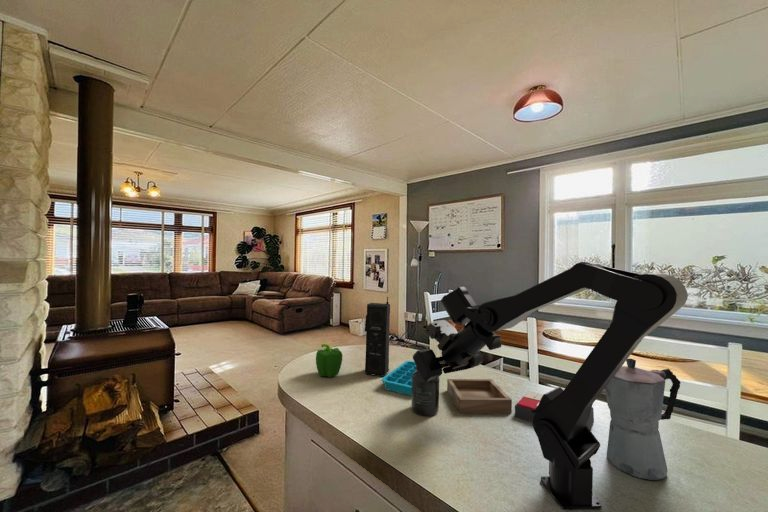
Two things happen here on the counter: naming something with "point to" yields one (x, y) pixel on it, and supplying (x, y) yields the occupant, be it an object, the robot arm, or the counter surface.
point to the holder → (478, 396)
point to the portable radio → (377, 338)
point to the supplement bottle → (425, 396)
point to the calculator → (531, 402)
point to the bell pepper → (328, 361)
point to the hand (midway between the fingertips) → (430, 375)
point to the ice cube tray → (401, 378)
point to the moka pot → (638, 419)
